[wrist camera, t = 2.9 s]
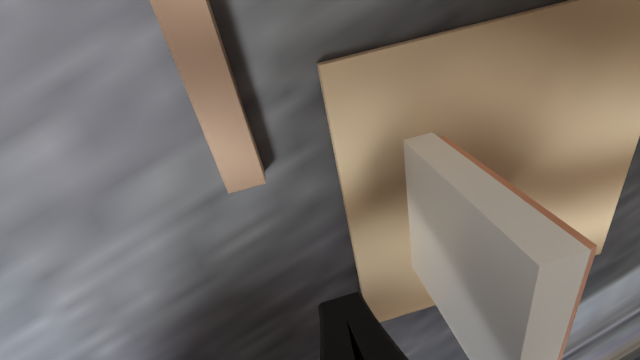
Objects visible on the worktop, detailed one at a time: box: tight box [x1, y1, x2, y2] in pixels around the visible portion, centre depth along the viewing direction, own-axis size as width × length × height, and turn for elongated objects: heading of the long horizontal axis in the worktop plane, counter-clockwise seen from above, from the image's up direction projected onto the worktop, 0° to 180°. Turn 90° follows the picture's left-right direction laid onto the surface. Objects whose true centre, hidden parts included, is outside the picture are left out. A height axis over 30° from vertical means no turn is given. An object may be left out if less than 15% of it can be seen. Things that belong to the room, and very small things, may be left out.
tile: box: [403, 132, 597, 360], centre depth 12 cm, size 7×2×7 cm, turn 12°
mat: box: [317, 0, 640, 322], centre depth 15 cm, size 14×14×1 cm
